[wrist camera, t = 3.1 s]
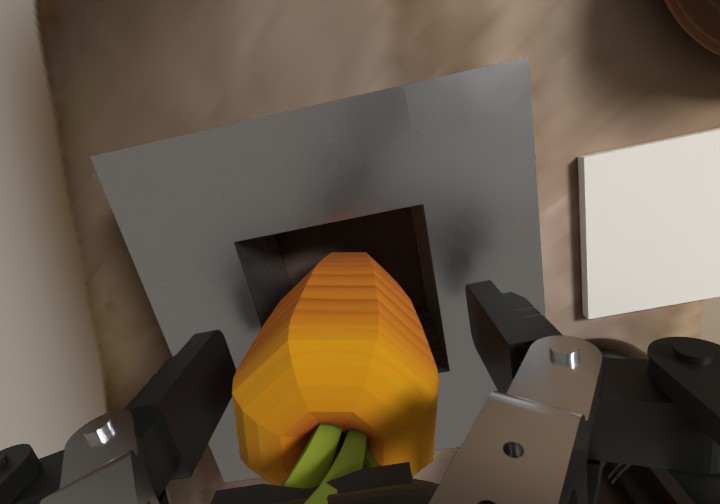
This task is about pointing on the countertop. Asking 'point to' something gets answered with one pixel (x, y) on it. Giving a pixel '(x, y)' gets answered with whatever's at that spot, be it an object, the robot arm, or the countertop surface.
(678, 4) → the cup and saucer
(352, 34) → the countertop surface
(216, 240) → the metal housing
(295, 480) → the carrot
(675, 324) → the countertop surface
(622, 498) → the supplement bottle
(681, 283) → the plastic pad
